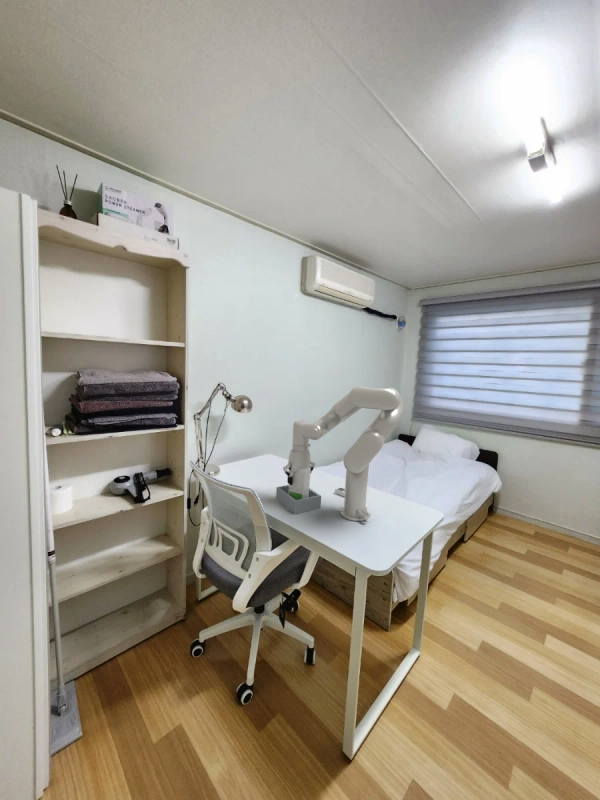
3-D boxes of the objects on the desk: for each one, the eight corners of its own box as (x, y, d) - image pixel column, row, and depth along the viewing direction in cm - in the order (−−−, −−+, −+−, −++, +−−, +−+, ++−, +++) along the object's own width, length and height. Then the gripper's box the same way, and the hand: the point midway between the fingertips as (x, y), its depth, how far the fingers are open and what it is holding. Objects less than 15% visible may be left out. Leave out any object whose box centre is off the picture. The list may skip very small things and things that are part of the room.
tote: (320, 508, 143) (321, 495, 142) (294, 514, 135) (295, 501, 135) (300, 493, 158) (300, 482, 157) (276, 498, 150) (276, 487, 150)
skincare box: (287, 499, 145) (288, 467, 144) (294, 495, 151) (295, 464, 149) (303, 503, 141) (304, 471, 140) (309, 498, 147) (311, 467, 145)
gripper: (311, 443, 151) (309, 477, 153) (280, 447, 142) (278, 482, 144) (320, 447, 145) (318, 482, 147) (288, 451, 136) (286, 488, 138)
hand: (298, 482), depth 145 cm, fingers closed on skincare box, 9 cm apart
